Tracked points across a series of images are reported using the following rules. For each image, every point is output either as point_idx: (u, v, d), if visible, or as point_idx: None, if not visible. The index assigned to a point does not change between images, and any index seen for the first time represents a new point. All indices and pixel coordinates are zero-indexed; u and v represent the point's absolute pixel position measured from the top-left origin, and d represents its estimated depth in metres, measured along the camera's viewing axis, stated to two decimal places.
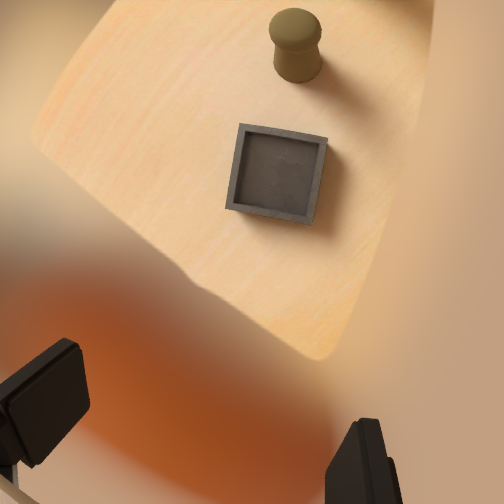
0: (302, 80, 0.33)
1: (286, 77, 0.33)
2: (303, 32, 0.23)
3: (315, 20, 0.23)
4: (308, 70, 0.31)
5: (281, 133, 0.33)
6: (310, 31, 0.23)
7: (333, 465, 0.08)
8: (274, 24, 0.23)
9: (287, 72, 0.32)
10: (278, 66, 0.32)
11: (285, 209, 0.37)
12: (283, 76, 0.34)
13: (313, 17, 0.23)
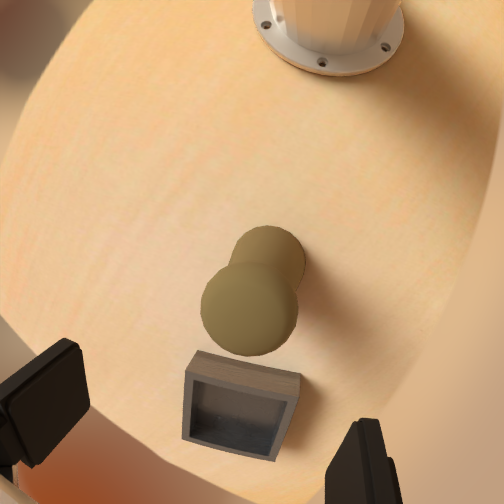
0: None
1: None
2: (259, 344, 0.15)
3: (285, 312, 0.15)
4: None
5: (238, 388, 0.25)
6: (273, 340, 0.15)
7: (333, 465, 0.08)
8: (206, 318, 0.15)
9: None
10: None
11: (248, 434, 0.29)
12: None
13: (282, 305, 0.15)
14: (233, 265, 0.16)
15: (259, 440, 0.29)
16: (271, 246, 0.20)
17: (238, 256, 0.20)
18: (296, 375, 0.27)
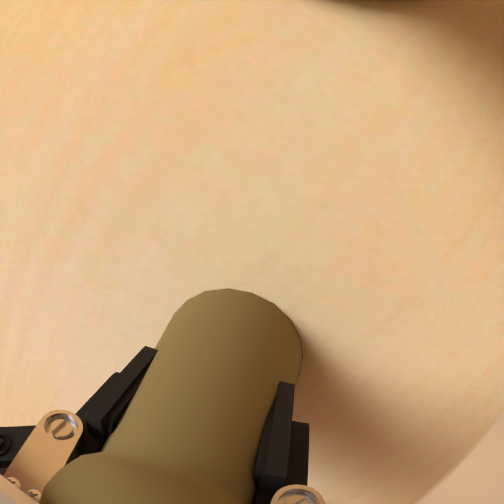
0: None
1: None
2: None
3: None
4: None
5: None
6: None
7: None
8: None
9: None
10: None
11: None
12: None
13: None
14: (73, 488, 0.03)
15: None
16: (218, 367, 0.08)
17: (140, 390, 0.07)
18: None
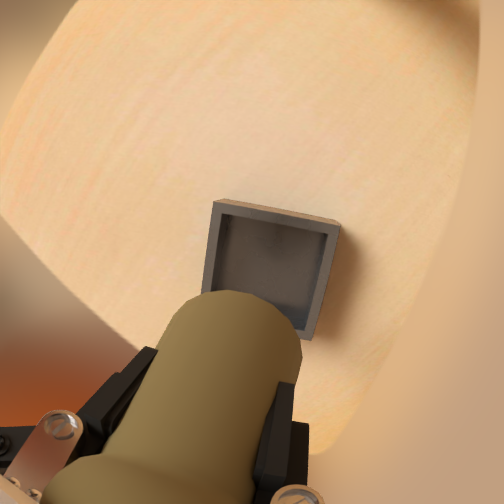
0: None
1: None
2: None
3: None
4: None
5: (273, 218, 0.24)
6: None
7: None
8: None
9: None
10: None
11: None
12: None
13: None
14: (73, 490, 0.03)
15: (291, 318, 0.28)
16: (218, 369, 0.08)
17: (140, 391, 0.07)
18: (331, 220, 0.26)
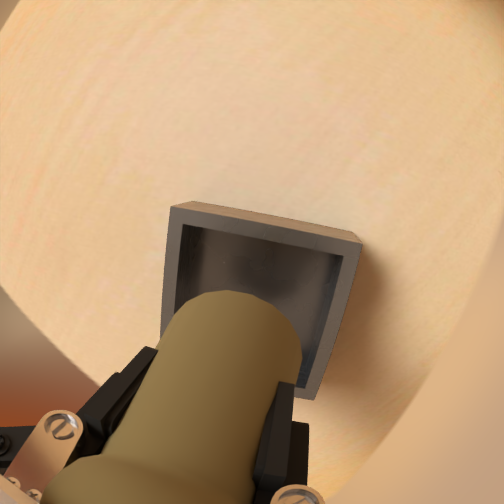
0: None
1: None
2: None
3: None
4: None
5: (259, 231, 0.15)
6: None
7: None
8: None
9: None
10: None
11: None
12: None
13: None
14: (73, 491, 0.03)
15: None
16: (218, 369, 0.08)
17: (140, 392, 0.07)
18: (347, 231, 0.18)
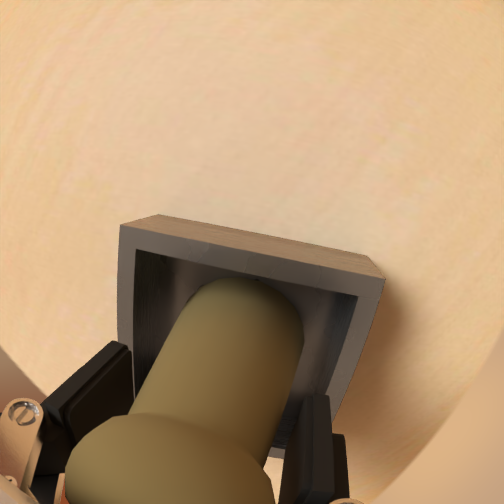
0: None
1: None
2: None
3: None
4: None
5: (238, 261, 0.11)
6: None
7: (290, 441, 0.09)
8: None
9: None
10: None
11: None
12: None
13: None
14: (112, 441, 0.05)
15: None
16: (234, 342, 0.09)
17: (164, 361, 0.09)
18: (360, 256, 0.13)
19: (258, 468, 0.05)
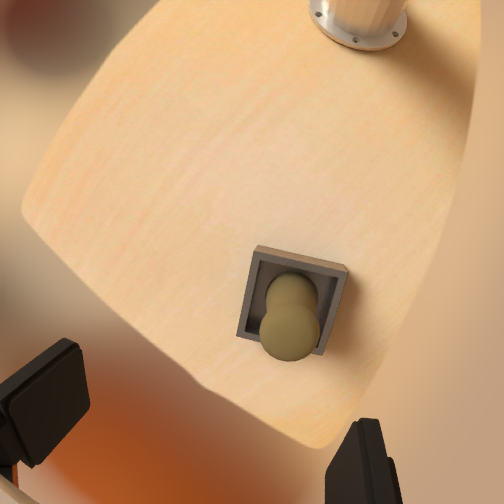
0: None
1: None
2: (296, 353, 0.25)
3: (314, 335, 0.24)
4: None
5: (298, 265, 0.32)
6: (305, 352, 0.24)
7: (333, 465, 0.08)
8: (265, 337, 0.25)
9: None
10: None
11: None
12: None
13: (312, 331, 0.24)
14: (283, 305, 0.25)
15: None
16: (300, 290, 0.30)
17: (279, 296, 0.29)
18: (340, 264, 0.34)
19: None
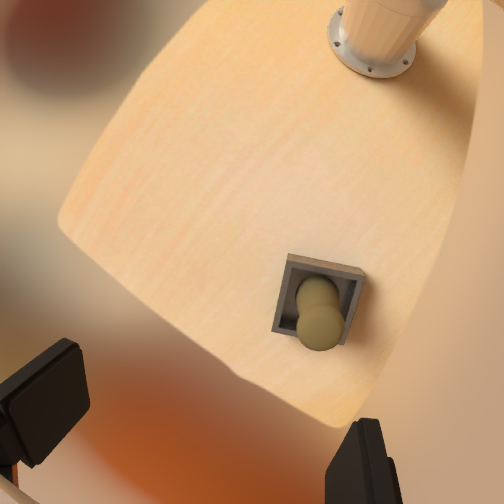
0: None
1: None
2: (327, 344, 0.30)
3: (341, 330, 0.30)
4: None
5: (324, 271, 0.37)
6: (334, 343, 0.30)
7: (333, 465, 0.08)
8: (302, 332, 0.31)
9: None
10: None
11: None
12: None
13: (340, 326, 0.30)
14: (316, 306, 0.31)
15: None
16: (326, 292, 0.36)
17: (309, 297, 0.35)
18: (358, 268, 0.40)
19: None
